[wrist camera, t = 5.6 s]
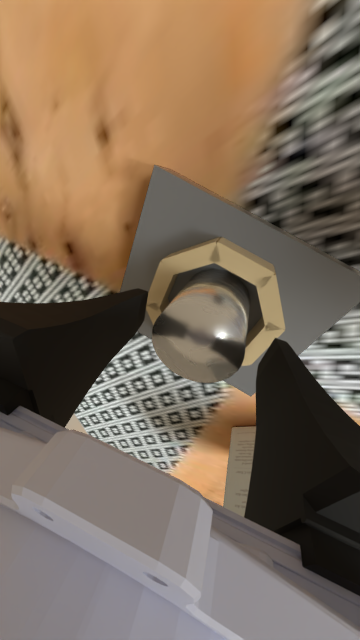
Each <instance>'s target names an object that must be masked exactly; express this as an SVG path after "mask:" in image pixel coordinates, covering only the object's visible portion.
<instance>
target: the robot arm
mask: <svg viewBox="0 0 360 640" xmlns="http://www.w3.org/2000/svg"><path fill="white" fill-rule="evenodd" d="M147 298H148V291H145V290H142V289H140V288H137V289H132V290H128V291H124V292H120V293H116V294H112V295H108V296H103V297H98V298H93V299H88V300H82V301H73V302H62V303H7V302H0V640H360V426H359V425H358V424H357V423H356V422H355V421H353V420H352V419H351V418H350V417H349V416H348V415H347V414H346V413H345V412H344V411H343V410H342V409H341V408H340V407H339V406H338V405H337V403H336V402H335V401H334V400H333V399H332V398H331V397H330V396H329V395H328V394H327V393H326V392H325V390H324V389H323V388H322V387H321V386H320V384H319V383H318V382H317V381H316V380H315V378H314V377H313V376H312V374H311V373H310V372H309V371H308V369H307V368H306V367H305V365H304V364H303V362H302V361H301V360H300V358H299V357H298V356H297V354H296V353H295V351H294V350H293V349H292V347H291V346H290V345H289V344H288V342H286V341H283V340H280V339H277V338H275V339H274V340H273V342H272V343H271V345H270V347H269V348H268V350H267V351H266V353H265V355H264V356H263V358H262V359H261V361H260V362H259V364H258V369H257V376H256V435H255V445H254V454H253V462H252V470H251V477H250V484H249V491H248V497H247V503H246V509H245V515H244V517H242V516H240V515H238V514H236V513H234V512H232V511H230V510H228V509H226V508H224V507H222V506H220V505H218V504H216V503H214V502H212V501H210V500H208V499H206V498H204V497H203V496H202V495H201V494H200V493H199V492H198V491H197V490H195V489H194V488H192V487H190V486H189V485H187V484H186V483H184V482H183V481H181V480H179V479H177V478H175V477H173V476H171V475H169V474H167V473H165V472H163V471H161V470H159V469H157V468H155V467H153V466H151V465H149V464H147V463H145V462H143V461H141V460H139V459H137V458H135V457H133V456H131V455H129V454H127V453H125V452H123V451H121V450H119V449H117V448H115V447H113V446H111V445H109V444H107V443H104V442H102V441H100V440H98V439H96V438H94V437H92V436H90V435H87V434H84V433H82V432H79V431H76V430H68V429H66V428H65V426H66V424H67V423H68V421H69V420H70V418H71V417H72V415H73V413H74V412H75V410H76V409H77V407H78V406H79V404H80V403H81V401H82V400H83V398H84V397H85V395H86V394H87V392H88V391H89V389H90V388H91V386H92V385H93V384H94V382H95V381H96V379H97V378H98V377H99V375H100V374H101V372H102V371H103V370H104V368H105V367H106V366H107V364H108V363H109V362H110V361H111V360H112V359H113V357H114V356H115V355H116V354H117V353H118V352H119V351H120V350H121V349H122V348H123V347H124V346H125V345H126V343H127V342H128V341H129V340H130V339H131V338H132V337H133V336H134V335H135V334H136V332H137V331H138V329H139V328H140V326H141V325H142V323H143V322H144V319H145V312H146V305H147Z"/></svg>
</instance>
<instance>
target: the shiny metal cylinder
mask: <svg viewBox="0 0 360 640" xmlns="http://www.w3.org/2000/svg"><path fill="white" fill-rule="evenodd" d="M249 308H250V296H249V293H248V290H247V288H246V286H245V285H244V283H243V282H242V281H241V280H240V279H239V278H238V277H237V276H235V275H234V274H232V273H230V272H228V271H225V270H220V269H209V270H204V271H201V272H199V273H197V274H196V275H194V276H193V277H192V278H191V279H190V280H189V281H188V282H187V284H186V285H185V286H184V287H183V288H182V289H181V291H180V292H179V293H178V294H177V295H176V297H175V298H174V299H173V300H172V301H171V303H170V304H169V305H168V306H167V307H166V308H165V310H164V311H163V312H162V313H161V314H160V316H159V317H158V318H157V319H156V321H155V323H154V325H153V329H152V343H153V347H154V349H155V351H156V353H157V355H158V357H159V358H160V360H161V361H162V362H163V363H164V364H165V365H166V366H167V367H168V368H169V369H170V370H172V371H173V372H175V373H176V374H178V375H180V376H181V377H184V378H186V379H189V380H192V381H196V382H203V383H211V382H219V381H222V380H225V379H227V378H229V377H231V376H232V375H234V374H235V373H236V372H237V371H238V370H239V368H240V367H241V365H242V363H243V360H244V356H245V348H246V338H247V328H248V318H249Z"/></svg>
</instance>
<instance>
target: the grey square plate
mask: <svg viewBox="0 0 360 640" xmlns="http://www.w3.org/2000/svg"><path fill="white" fill-rule="evenodd" d="M209 269H220V270H225V271H228V272H230V273H232V274H234V275H235V276H237V277H238V278H239V279H240V280H241V281H242V282H243V283H244V285H245V286H246V288H247V290H248V293H249V296H250V308H249V318H248V328H247V338H246V348H245V356H244V360H243V363H242V365H241V367H240V368H239V370H238V371H237V372H236V373H235V374H234V375H232V376H231V377H229V378H227V379H225V380H223V381H225V382H227V383H228V384H230V385H232V386H234V387H235V388H237V389H239V390H241V391H242V392H244V393H246V394H248V395H249V396H252V395H253V394H254V393H255V392H256V376H257V369H258V364H259V362H260V361H261V359H262V358H263V356H264V355H265V353H266V351H267V350H268V348H269V347H270V345H271V343H272V342H273V340H274V339H275V338H277V339H280V340H283V341H286V342H288V344H289V345H290V346H291V347H292V349H293V350H294V351H295V353H296V354H297V356H298V355H299V354H301V353H302V352H303V351H304V350H305V349H306V348H307V347H309V346H310V345H311V344H312V343H313V342H314V341H316V340H317V339H318V338H319V337H320V336H321V335H322V334H324V333H325V332H326V331H327V330H328V329H329V328H331V327H332V326H333V325H334V324H335V323H336V322H337V321H339V320H340V319H341V318H342V317H343V316H344V315H346V314H347V313H348V312H349V311H350V310H351V309H352V308H354V307H355V306H356V305H357V304H358V303H359V302H360V271H358V270H357V269H355V268H353V267H351V266H349V265H347V264H345V263H344V262H342V261H340V260H338V259H336V258H334V257H332V256H331V255H329V254H327V253H325V252H323V251H321V250H319V249H318V248H316V247H314V246H312V245H310V244H308V243H306V242H305V241H303V240H301V239H299V238H297V237H295V236H293V235H292V234H290V233H288V232H286V231H284V230H282V229H280V228H279V227H277V226H275V225H273V224H271V223H269V222H267V221H266V220H264V219H262V218H260V217H258V216H256V215H254V214H253V213H251V212H249V211H247V210H245V209H243V208H241V207H240V206H238V205H236V204H234V203H232V202H230V201H228V200H227V199H225V198H223V197H221V196H219V195H217V194H216V193H214V192H212V191H210V190H208V189H206V188H204V187H203V186H201V185H199V184H197V183H195V182H193V181H191V180H190V179H188V178H186V177H184V176H182V175H180V174H178V173H177V172H175V171H173V170H171V169H168V168H164V167H161V166H157V165H154V169H153V172H152V176H151V180H150V183H149V187H148V191H147V194H146V198H145V202H144V205H143V209H142V213H141V216H140V220H139V224H138V227H137V231H136V235H135V238H134V242H133V246H132V250H131V253H130V257H129V261H128V264H127V268H126V272H125V275H124V279H123V283H122V286H121V290H120V292H124V291H128V290H132V289H137V288H140V289H142V290H145V291H148V298H147V305H146V312H145V319H144V322H143V323H142V325H141V326H140V328H139V329H138V332H139V333H141V334H143V335H145V336H146V337H148V338H150V339H152V329H153V325H154V323H155V321H156V319H157V318H158V317H159V316H160V314H161V313H162V312H163V311H164V310H165V308H166V307H167V306H168V305H169V304H170V303H171V301H172V300H173V299H174V298H175V297H176V295H177V294H178V293H179V292H180V291H181V289H182V288H183V287H184V286H185V285H186V284H187V282H188V281H189V280H190V279H191V278H192V277H193V276H194V275H196V274H197V273H199V272H201V271H204V270H209Z"/></svg>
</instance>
